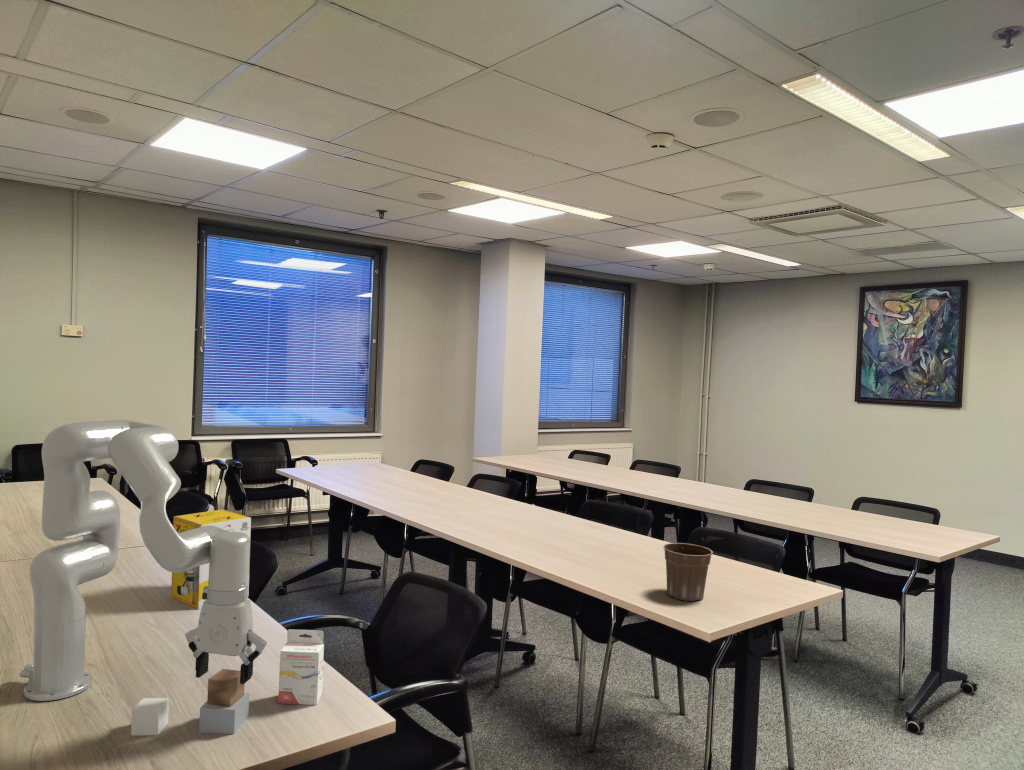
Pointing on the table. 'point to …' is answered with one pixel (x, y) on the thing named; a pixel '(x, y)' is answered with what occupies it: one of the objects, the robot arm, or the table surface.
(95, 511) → the robot arm
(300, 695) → the ink cartridge box
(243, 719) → the slate base block
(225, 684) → the walnut cube
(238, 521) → the packaging box
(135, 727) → the pale grey cube
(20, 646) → the table surface
